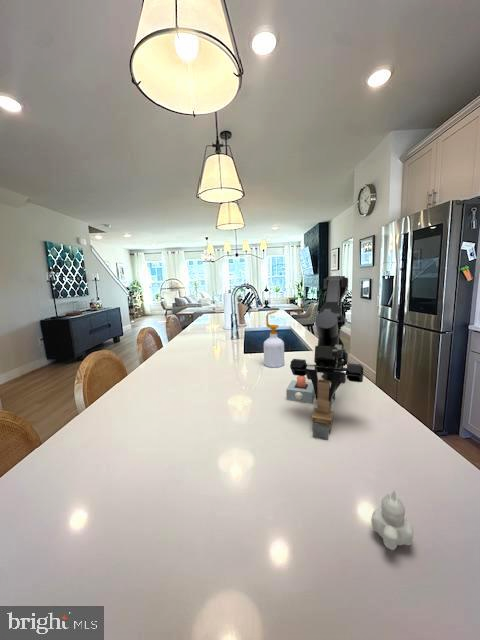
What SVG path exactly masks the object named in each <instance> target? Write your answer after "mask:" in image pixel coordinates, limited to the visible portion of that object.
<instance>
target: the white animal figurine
mask: <svg viewBox="0 0 480 640" xmlns="http://www.w3.org/2000/svg"><path fill="white" fill-rule="evenodd" d="M391 493H392V494H390V493H387V494H386V495H385V496H383V497H382V499H381V506H380V507H379V508H376V509H375V510H374V511H373V513H372V515H371V527H372V529H373V530H374V532H376V533H378V535H379V537H381V538H382V540H383V544H384V546H385V548H387V549H389V550H391V551H395V550H396V549H397V547H398V546H403V545H405V546H411V545H412V543H413V540H414V528H413V525H412V524H411V522H410V521H409V520H408V519H407V518H408V517H407V516H406V506H405V504H404V503H403V502H402V500H401V498H400V497H399V496H397V494H396V490H395V489H393V491H392V492H391Z"/></svg>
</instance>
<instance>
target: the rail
mask: <svg viewBox="0 0 480 640" xmlns="http://www.w3.org/2000/svg"><path fill="white" fill-rule="evenodd" d="M333 400H334V401H335V400H336V393H335V394H334V396H333V398H332V400H331V401H330V410H331V411H332V406H333ZM329 431H330V430H329V425H328V424H324V423H318V422H317V423H313V422H312V437H313V438H316V439H321V440H327V441H328V440H329Z"/></svg>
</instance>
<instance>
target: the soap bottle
mask: <svg viewBox="0 0 480 640" xmlns="http://www.w3.org/2000/svg"><path fill="white" fill-rule="evenodd" d="M277 312H278V310H277V309H276V310H272V311H270V312H268V313H267V314H266V316H265V317H266V320H265V322H266V323H265V324H266V327H267V328H269V329H270V330H271V331H270V332H269V337H268V338H267V339H266V340H264V341H263V364H264V366H266V367H268V368H281V367H283V366H284V365H285V342H284V340H282V339H281V338H279V336H278V332H277V331H276V330H277V328H279V324H269V315H271V314H275V313H277Z"/></svg>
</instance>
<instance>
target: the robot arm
mask: <svg viewBox="0 0 480 640" xmlns="http://www.w3.org/2000/svg"><path fill="white" fill-rule="evenodd" d="M348 288H349V278H348V277H346V276H345V275H331V276H327V277H326V278H325V277H324V278H323V289H325V292H326V295H325V302H324V305H322V306H321V307H320V310H319V313H318V314H317V315H316V316H315V319H314V323H315V324H314V325H315V327H316V334H317V336H318V340H317V345H315V347H314V360H313V361H314V363H315V364H314V363H307V359H302V358H293V359H292V360H291V361H290V365H289V368H290V370H291V373H292V375H294V376H304V377H306V379H308V380H311V381H310V382H312V384H313V387H314V392H315V395H314V398H315V399H316V401H317V399H318V381H319V377H318V374H319V373H320V374H322V375H321V378H323V379H324V380H329V381H330V392H329V402H330V401H331V400H332V398H333V396H334V394H335V395H336V393H337V389H338V388H339V387H340V386H341V384H345V383H346V379H347V380H348V381H349V382H354V383H362V382H363V381H364V366H363V365H362V364H359V363H348V361H349V360H348V359H349V358H348V352H347V349H345V345H344V343H343V341H342V339H341V330H342V327H344V326H345V325H346V319H347V318H345V315H344V314H342V300H343V298H344V297H345V295H346V293H347V289H348ZM345 366H346V367H345Z"/></svg>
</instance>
